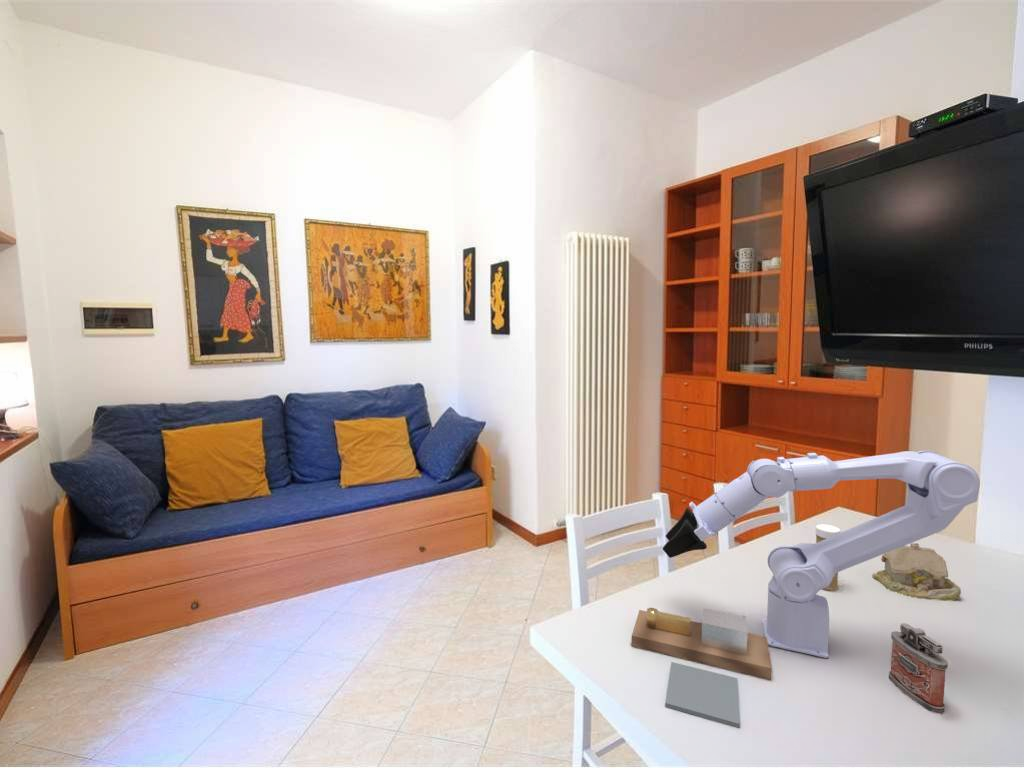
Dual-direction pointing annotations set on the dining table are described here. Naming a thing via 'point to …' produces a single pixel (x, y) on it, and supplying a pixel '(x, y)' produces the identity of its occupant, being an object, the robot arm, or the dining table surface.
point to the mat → (703, 694)
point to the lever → (668, 622)
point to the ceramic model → (917, 574)
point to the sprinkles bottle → (822, 534)
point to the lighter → (918, 667)
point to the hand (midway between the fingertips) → (667, 546)
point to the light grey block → (724, 631)
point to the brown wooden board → (703, 648)
